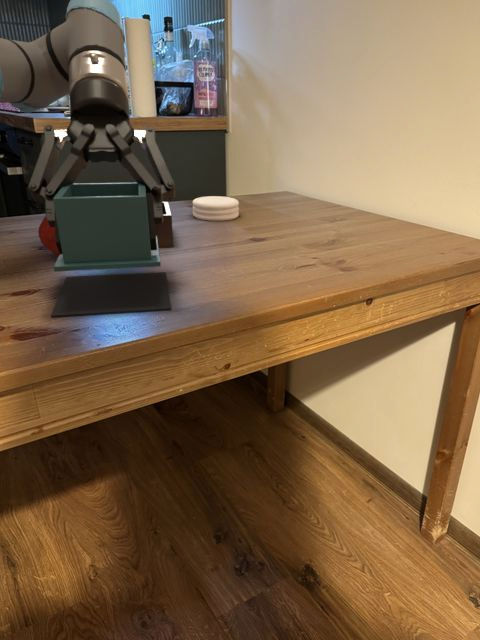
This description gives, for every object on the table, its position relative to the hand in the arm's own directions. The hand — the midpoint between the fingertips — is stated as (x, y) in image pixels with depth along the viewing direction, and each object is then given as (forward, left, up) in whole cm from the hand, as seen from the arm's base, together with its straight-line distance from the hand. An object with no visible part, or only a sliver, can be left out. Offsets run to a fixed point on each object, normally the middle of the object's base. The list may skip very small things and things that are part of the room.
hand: (108, 246), depth 60 cm
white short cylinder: (-14, +49, -7) cm, 52 cm away
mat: (-2, +2, -7) cm, 8 cm away
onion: (-20, +11, -7) cm, 24 cm away
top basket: (-2, +2, -2) cm, 4 cm away
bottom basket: (-16, +25, -7) cm, 31 cm away
